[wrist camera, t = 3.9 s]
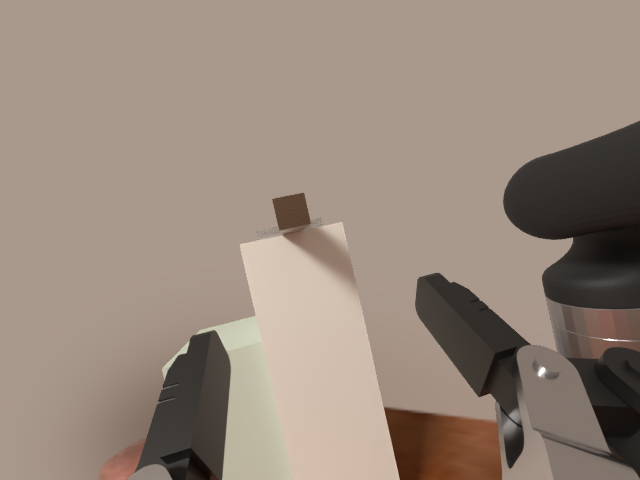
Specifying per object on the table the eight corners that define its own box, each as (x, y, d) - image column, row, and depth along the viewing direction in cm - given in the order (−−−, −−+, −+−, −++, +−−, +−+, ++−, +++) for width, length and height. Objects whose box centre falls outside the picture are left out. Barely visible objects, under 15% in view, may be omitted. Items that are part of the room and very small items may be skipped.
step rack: (368, 430, 38) (323, 229, 38) (409, 524, 25) (342, 221, 25) (234, 475, 36) (183, 260, 35) (204, 606, 23) (124, 269, 22)
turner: (314, 230, 36) (311, 217, 36) (348, 215, 16) (342, 185, 16) (265, 241, 35) (262, 227, 35) (238, 239, 15) (231, 207, 15)
